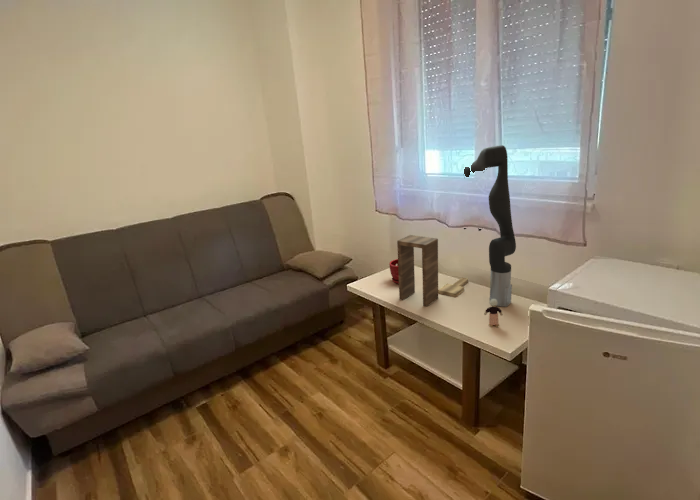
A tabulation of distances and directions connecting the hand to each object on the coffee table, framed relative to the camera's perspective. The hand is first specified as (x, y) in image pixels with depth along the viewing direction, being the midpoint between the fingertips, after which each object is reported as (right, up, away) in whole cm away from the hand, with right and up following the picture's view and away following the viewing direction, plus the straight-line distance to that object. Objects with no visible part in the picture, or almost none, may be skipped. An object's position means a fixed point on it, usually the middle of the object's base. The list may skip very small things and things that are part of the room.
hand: (472, 229), depth 225 cm
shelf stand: (-33, -37, -16) cm, 52 cm away
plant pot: (-38, -30, +9) cm, 49 cm away
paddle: (-11, -32, -6) cm, 34 cm away
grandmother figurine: (-6, -45, -48) cm, 66 cm away
